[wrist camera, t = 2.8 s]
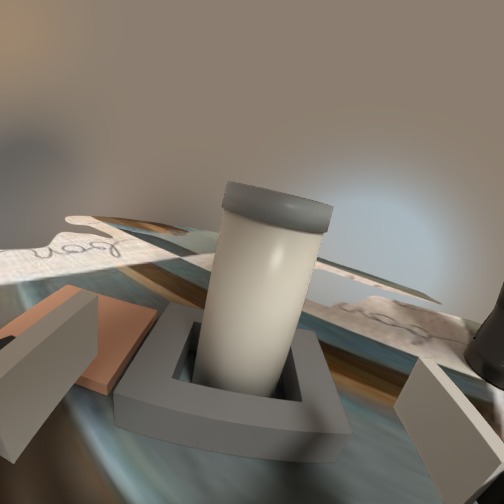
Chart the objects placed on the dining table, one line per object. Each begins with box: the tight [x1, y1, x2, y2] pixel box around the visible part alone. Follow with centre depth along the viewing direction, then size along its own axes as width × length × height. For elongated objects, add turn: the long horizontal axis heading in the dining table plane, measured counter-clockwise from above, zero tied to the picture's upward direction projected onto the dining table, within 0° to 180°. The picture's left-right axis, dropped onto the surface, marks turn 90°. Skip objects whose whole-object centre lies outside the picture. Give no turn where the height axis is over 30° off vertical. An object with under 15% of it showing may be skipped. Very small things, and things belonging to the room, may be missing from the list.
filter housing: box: [113, 302, 352, 463], centre depth 22 cm, size 14×14×3 cm
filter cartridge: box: [192, 181, 333, 398], centre depth 21 cm, size 7×7×15 cm
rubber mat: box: [0, 284, 158, 396], centre depth 24 cm, size 11×13×1 cm
